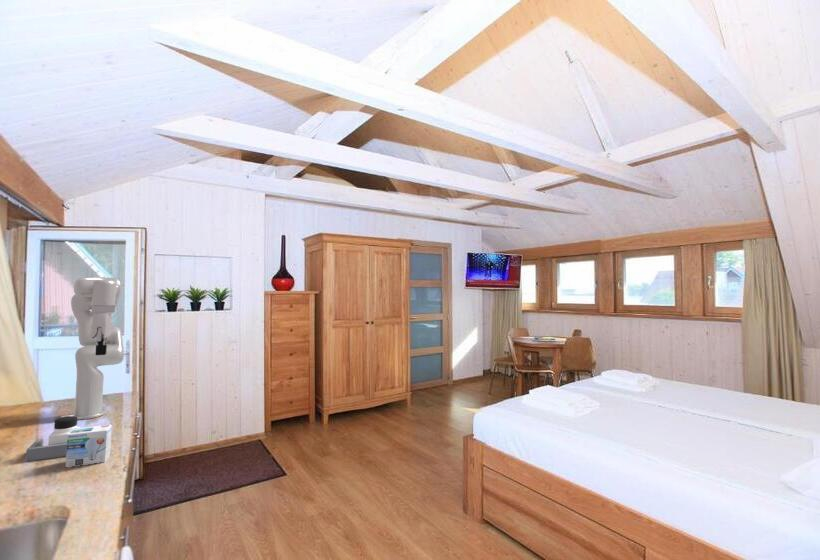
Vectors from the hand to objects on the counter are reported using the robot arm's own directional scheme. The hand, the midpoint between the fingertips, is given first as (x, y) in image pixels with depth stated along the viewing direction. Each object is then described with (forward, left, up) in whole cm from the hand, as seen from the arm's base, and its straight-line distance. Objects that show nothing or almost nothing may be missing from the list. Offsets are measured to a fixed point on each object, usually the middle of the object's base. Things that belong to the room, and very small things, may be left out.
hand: (100, 354), depth 156 cm
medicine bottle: (+18, -6, -31) cm, 37 cm away
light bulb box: (+32, +4, -31) cm, 45 cm away
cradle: (+19, -7, -31) cm, 37 cm away
